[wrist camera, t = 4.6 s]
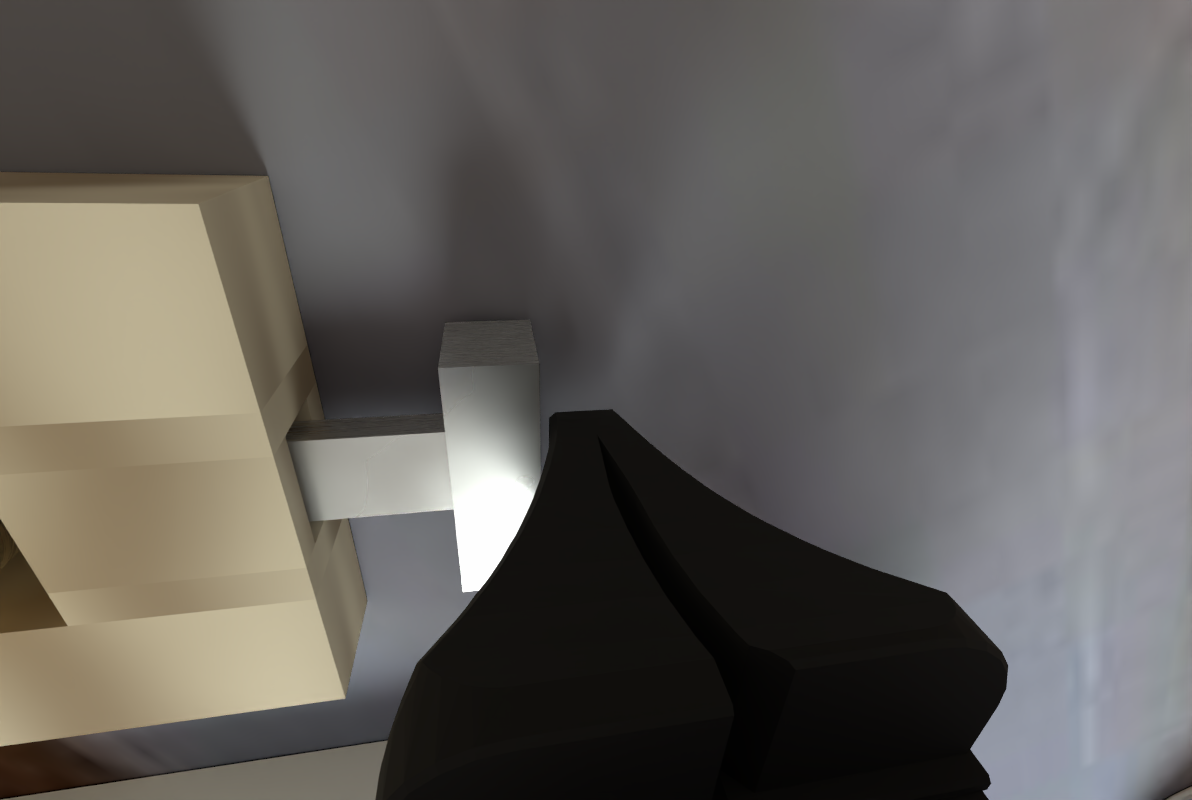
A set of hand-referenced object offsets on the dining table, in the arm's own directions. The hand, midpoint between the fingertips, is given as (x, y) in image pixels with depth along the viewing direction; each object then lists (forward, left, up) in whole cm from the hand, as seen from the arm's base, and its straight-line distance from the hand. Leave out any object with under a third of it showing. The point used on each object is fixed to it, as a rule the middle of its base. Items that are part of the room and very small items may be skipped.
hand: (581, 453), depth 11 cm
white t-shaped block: (+5, 0, -1) cm, 5 cm away
